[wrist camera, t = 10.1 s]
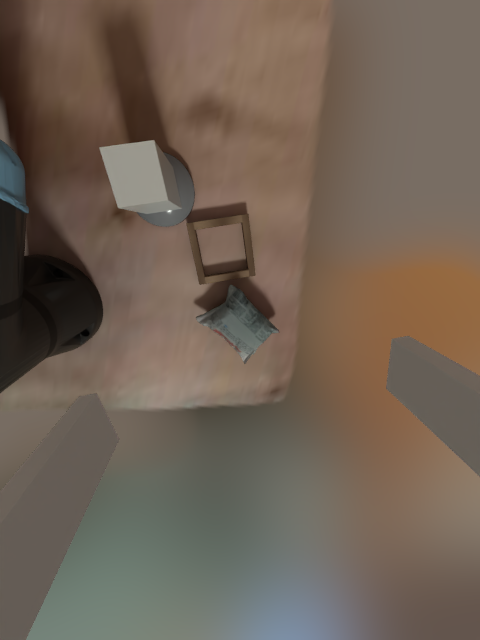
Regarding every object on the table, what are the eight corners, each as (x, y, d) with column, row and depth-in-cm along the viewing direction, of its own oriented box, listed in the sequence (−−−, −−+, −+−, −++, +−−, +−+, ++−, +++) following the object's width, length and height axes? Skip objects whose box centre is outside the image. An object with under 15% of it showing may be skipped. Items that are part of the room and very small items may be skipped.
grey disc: (139, 231, 33) (138, 230, 33) (118, 158, 30) (116, 156, 29) (200, 221, 34) (200, 221, 33) (186, 148, 30) (185, 146, 30)
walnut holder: (200, 283, 37) (199, 284, 36) (187, 223, 34) (186, 223, 32) (254, 274, 37) (255, 275, 36) (247, 214, 34) (248, 213, 33)
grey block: (146, 213, 32) (118, 207, 23) (135, 172, 30) (99, 147, 21) (182, 208, 32) (168, 200, 23) (173, 167, 30) (153, 140, 21)
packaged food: (242, 356, 43) (245, 370, 38) (196, 314, 39) (193, 325, 35) (277, 325, 42) (285, 337, 37) (232, 279, 38) (235, 285, 33)
